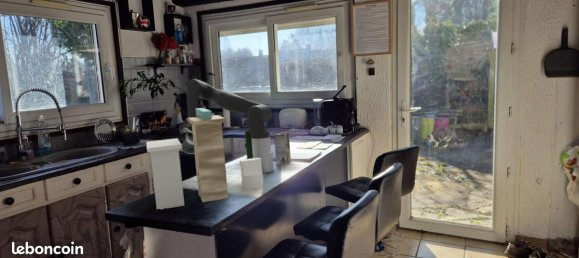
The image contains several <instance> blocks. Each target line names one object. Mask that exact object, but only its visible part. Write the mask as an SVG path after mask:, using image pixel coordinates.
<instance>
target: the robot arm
mask: <svg viewBox="0 0 579 258" xmlns="http://www.w3.org/2000/svg"><path fill="white" fill-rule="evenodd" d="M198 99H203V100H205V101H206V100H207V101H209V102H212V103H214V104H215V105H216V106H217V107H219V108H221V109H223V110H226V111H228V112H232V113H235V114H237V113H238V114H244V115H247V118H248V124H249V127H248V129H249V131H250V134H251V137H252V149H253V158H261V165H262V174H265V173H266V174H267V173H271V172H274V171H275V166H274V156H273V155H274V153H273V151H272V143H271V132H270V130H267V129H266V127H265V123H268V122H269V121H271V120H272V117H273V111H272V110H271V108H270V107H269V106H268V105H266V104H263V103H259V102H256V101H253V100H252V101H251V100H249V99H246V98H245V97H243V96H239V95H237V94H235V93H232V92H231V91H228V90H224V89H218V88H216V87H214V86H212V85H210V84H209V83H207V82H204V81H202V80H199V79H196V78H192V79H190V80H189V81H187V84H186V102H187V105H186V106H187V119H186V120H184V121H183V123H180V124H179V133H180V135H182V134H183V135H184V133H186V134H185V139H184V140H183V142H182V143H181V146H182V148H181V150H182V152H183V153H185V154H191V155H192V154H193V155H195V151H194V141H193V131H192V124H191V123H190V122H188V118H192V117H198V116H196V108H199V105H198Z"/></svg>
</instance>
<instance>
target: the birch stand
mask: <svg viewBox="0 0 579 258" xmlns="http://www.w3.org/2000/svg"><path fill="white" fill-rule="evenodd" d="M188 122H190V123H191V124H192V131H193V141H194V151H195V154H194V159H195V160H194V161H195V169H196V170H195V171H196V180H197V190H198V196H199V198H200V199H201V202H202V203H206V202H207V203H208V202H212V201H219V200H225V199H229V192H228V191H229V190H228V179H227V172H226V171H227V170H226V169H227V168H226V158H225V147H224V146H225V145H224V135H223V125H222V124H223V123H226V117H224V116H223V117H222V116H221V115H217V114H216V115H213V114H212V119H205V120H204V119H202V118H200V117H192V118H188V117H187V123H188Z"/></svg>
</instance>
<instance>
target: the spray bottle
mask: <svg viewBox="0 0 579 258" xmlns="http://www.w3.org/2000/svg"><path fill="white" fill-rule="evenodd" d="M246 125H247V127H248V129H246V130H245V131H244V137H245V139H244V140H245V149H246V151H245V152H246V159H252V158H253V149H252V137H251V134H250V131H249V124H248V117H247V119H246Z"/></svg>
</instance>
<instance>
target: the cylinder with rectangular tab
mask: <svg viewBox="0 0 579 258" xmlns="http://www.w3.org/2000/svg"><path fill="white" fill-rule="evenodd" d="M239 163H240V175H241V186H242V189H243V190H258V189H261V188H263V186H264V181H263V178H264V177H263V173H262V165H261V158H252V159H247V158H246V159H240V160H239Z"/></svg>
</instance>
